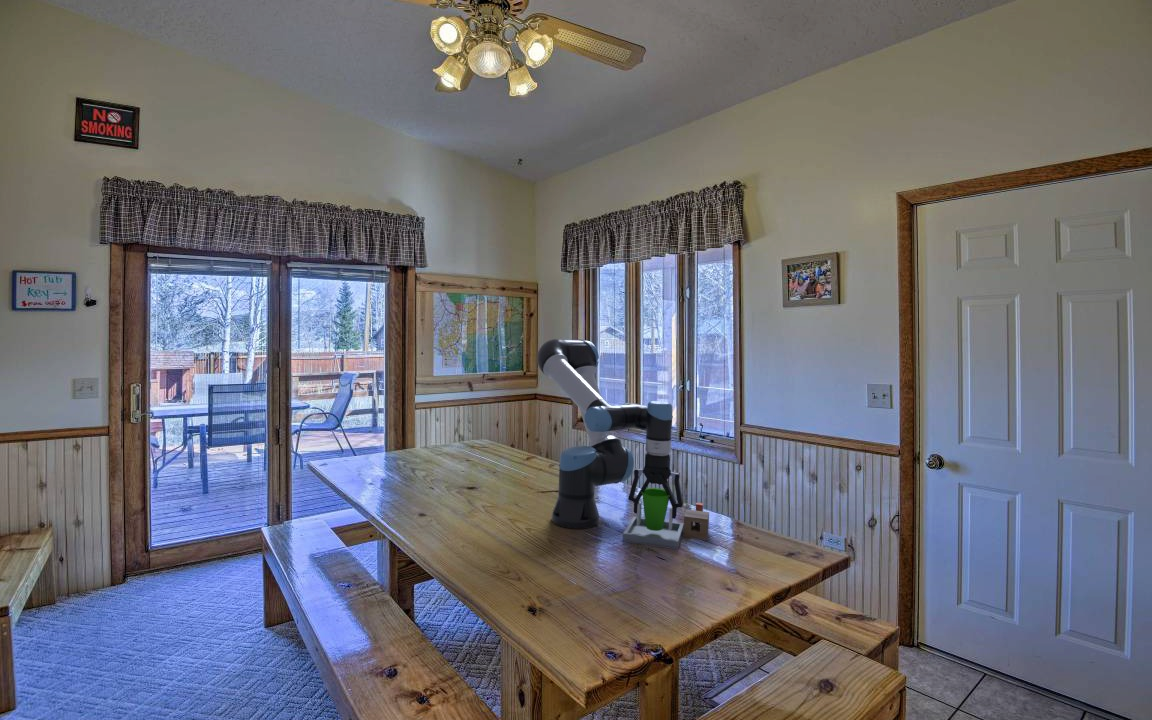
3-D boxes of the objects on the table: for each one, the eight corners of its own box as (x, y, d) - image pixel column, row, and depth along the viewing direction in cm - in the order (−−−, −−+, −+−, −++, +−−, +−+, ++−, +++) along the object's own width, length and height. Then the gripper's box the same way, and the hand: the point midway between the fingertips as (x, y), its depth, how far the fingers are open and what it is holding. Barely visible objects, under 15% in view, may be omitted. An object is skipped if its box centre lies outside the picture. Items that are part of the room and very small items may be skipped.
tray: (622, 541, 160) (623, 533, 160) (633, 523, 175) (633, 516, 175) (677, 549, 155) (678, 541, 155) (683, 530, 170) (683, 523, 170)
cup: (668, 534, 160) (670, 498, 159) (638, 531, 161) (639, 494, 161) (669, 524, 168) (671, 489, 168) (640, 521, 170) (642, 486, 170)
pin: (695, 517, 179) (696, 502, 179) (702, 518, 178) (703, 503, 178) (693, 528, 169) (693, 511, 169) (700, 529, 169) (701, 512, 168)
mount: (685, 529, 172) (686, 509, 171) (708, 532, 169) (709, 512, 169) (683, 536, 165) (684, 516, 165) (706, 540, 163) (707, 519, 162)
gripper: (619, 451, 163) (616, 525, 164) (693, 459, 157) (689, 535, 158) (625, 447, 170) (621, 517, 172) (695, 454, 164) (691, 527, 165)
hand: (654, 526), depth 165 cm, fingers closed on cup, 9 cm apart
